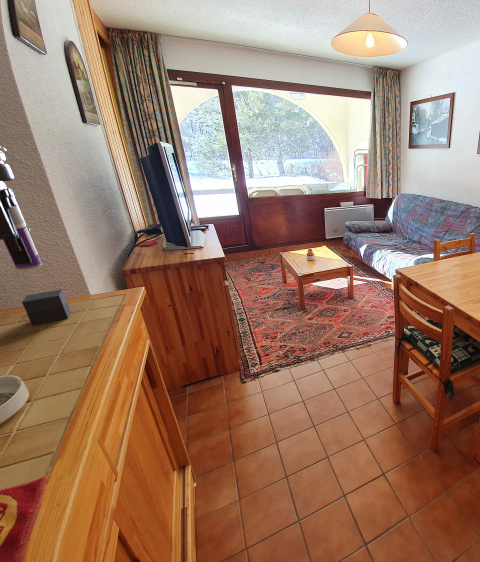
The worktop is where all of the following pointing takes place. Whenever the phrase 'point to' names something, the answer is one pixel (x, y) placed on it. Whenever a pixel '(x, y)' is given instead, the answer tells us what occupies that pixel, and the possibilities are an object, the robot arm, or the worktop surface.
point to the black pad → (49, 315)
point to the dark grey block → (44, 301)
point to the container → (26, 239)
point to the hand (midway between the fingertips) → (26, 260)
